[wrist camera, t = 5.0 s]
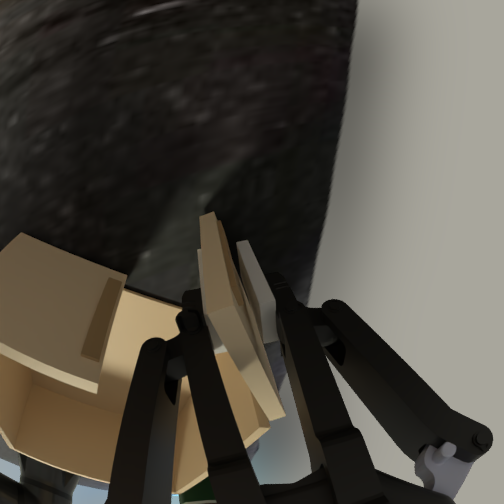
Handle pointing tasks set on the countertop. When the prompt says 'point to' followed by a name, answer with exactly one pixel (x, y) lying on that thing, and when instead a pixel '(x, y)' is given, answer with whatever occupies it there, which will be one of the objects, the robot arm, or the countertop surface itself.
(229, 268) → the flap
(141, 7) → the countertop surface
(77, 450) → the carton
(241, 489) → the robot arm
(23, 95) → the countertop surface
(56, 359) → the flap
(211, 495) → the beer bottle
